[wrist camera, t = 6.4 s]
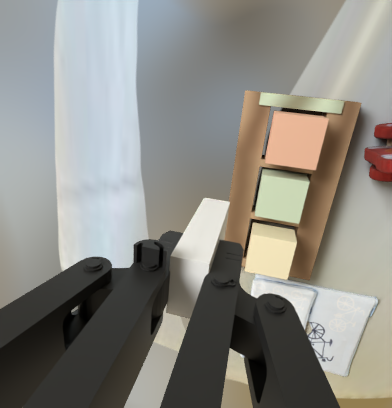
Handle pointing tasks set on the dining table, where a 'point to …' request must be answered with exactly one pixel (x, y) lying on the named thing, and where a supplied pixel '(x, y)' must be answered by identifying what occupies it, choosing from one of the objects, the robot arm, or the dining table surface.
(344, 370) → the printed paper napkins
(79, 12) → the dining table surface
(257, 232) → the cream yellow square block
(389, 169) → the toy fire truck
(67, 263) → the dining table surface
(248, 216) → the board
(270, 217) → the pale green square block
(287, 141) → the salmon orange square block
